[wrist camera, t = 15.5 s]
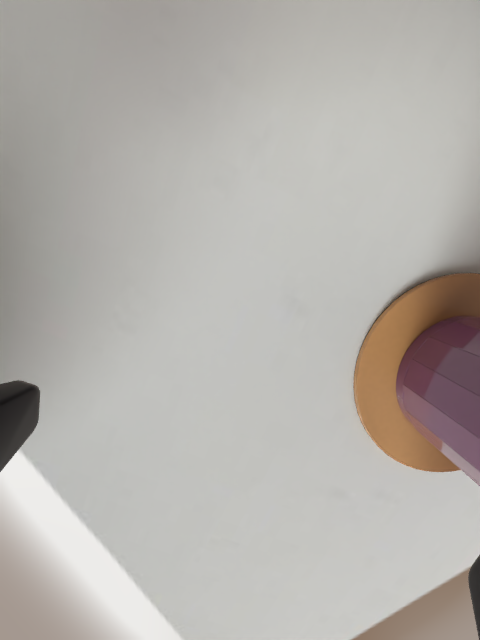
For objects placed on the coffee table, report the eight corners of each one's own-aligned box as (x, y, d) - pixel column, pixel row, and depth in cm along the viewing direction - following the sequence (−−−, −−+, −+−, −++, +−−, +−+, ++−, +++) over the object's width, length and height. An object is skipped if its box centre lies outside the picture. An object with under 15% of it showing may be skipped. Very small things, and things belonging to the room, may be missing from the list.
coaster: (382, 495, 21) (386, 500, 21) (327, 317, 19) (330, 318, 18) (562, 427, 21) (568, 430, 21) (530, 241, 19) (538, 241, 18)
